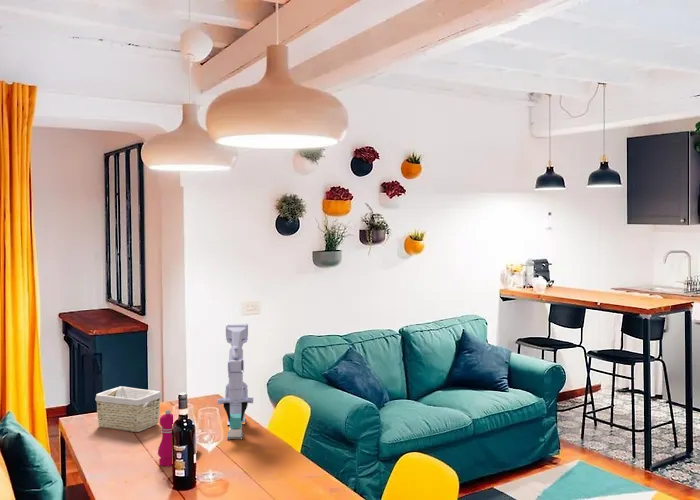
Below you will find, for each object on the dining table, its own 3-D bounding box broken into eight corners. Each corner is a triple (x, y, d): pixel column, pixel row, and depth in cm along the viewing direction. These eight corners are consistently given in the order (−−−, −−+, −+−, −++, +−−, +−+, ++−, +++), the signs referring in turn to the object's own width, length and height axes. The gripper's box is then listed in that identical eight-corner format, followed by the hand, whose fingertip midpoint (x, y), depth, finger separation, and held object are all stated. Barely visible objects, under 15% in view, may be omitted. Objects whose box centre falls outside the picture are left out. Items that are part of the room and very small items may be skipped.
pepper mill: (153, 464, 242) (153, 410, 241) (167, 458, 248) (167, 406, 247) (168, 468, 238) (168, 413, 237) (182, 462, 245) (182, 408, 244)
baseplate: (228, 434, 276) (228, 431, 276) (243, 434, 277) (243, 430, 277) (227, 440, 269) (227, 437, 269) (243, 439, 270) (243, 436, 270)
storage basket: (93, 427, 284) (93, 393, 284) (120, 417, 299) (120, 385, 299) (137, 434, 275) (137, 399, 275) (162, 424, 290) (162, 390, 290)
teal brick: (230, 423, 276) (230, 414, 275) (241, 423, 276) (241, 413, 276) (229, 427, 270) (229, 418, 270) (241, 427, 270) (241, 417, 270)
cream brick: (229, 432, 276) (229, 425, 276) (241, 432, 277) (241, 425, 276) (229, 437, 270) (229, 430, 270) (241, 436, 271) (241, 429, 271)
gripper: (217, 391, 267) (217, 424, 268) (253, 390, 270) (253, 422, 270) (218, 386, 274) (218, 419, 275) (253, 385, 277) (253, 417, 277)
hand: (235, 420), depth 273 cm, fingers closed on teal brick, 4 cm apart
